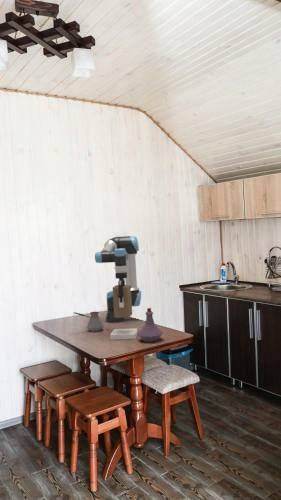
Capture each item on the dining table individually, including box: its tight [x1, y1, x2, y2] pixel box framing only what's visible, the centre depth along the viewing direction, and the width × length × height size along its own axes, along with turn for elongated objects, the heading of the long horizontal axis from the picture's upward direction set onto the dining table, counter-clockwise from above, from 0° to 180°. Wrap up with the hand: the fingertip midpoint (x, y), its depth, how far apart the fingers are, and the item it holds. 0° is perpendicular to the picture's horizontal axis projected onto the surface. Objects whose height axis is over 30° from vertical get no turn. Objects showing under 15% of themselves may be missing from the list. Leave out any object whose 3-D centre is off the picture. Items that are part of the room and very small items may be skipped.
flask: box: [137, 307, 164, 343], centre depth 272 cm, size 16×16×20 cm
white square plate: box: [109, 327, 139, 341], centre depth 286 cm, size 16×16×3 cm
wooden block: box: [112, 284, 133, 319], centre depth 285 cm, size 10×10×20 cm
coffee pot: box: [73, 311, 104, 333], centre depth 304 cm, size 21×12×15 cm, turn 117°
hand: (122, 305), depth 285 cm, fingers closed on wooden block, 10 cm apart
